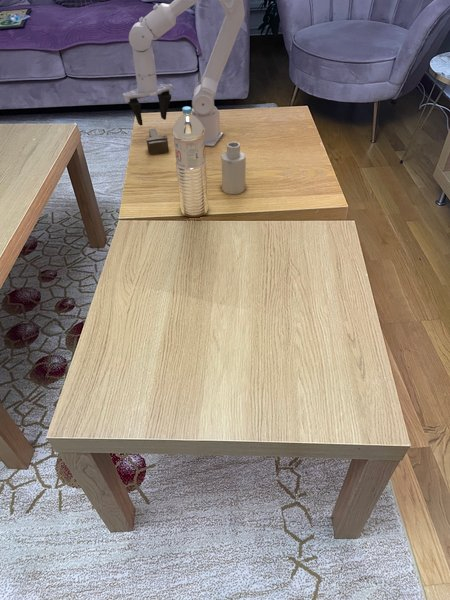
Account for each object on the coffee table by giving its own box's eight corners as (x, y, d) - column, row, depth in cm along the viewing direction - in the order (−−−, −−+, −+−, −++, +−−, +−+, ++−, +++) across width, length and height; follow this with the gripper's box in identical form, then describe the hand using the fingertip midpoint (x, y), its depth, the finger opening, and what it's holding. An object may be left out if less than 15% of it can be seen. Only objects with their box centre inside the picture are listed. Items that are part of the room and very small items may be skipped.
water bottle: (204, 220, 108) (198, 115, 90) (177, 217, 109) (166, 113, 91) (211, 204, 112) (206, 102, 95) (184, 202, 113) (175, 100, 96)
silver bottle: (226, 181, 121) (225, 137, 112) (247, 184, 119) (248, 140, 111) (219, 192, 117) (217, 148, 108) (241, 195, 115) (241, 151, 107)
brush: (162, 135, 142) (161, 123, 139) (169, 153, 133) (168, 140, 130) (143, 138, 140) (141, 125, 138) (149, 155, 132) (147, 142, 129)
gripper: (126, 82, 120) (134, 131, 130) (175, 72, 125) (179, 120, 135) (117, 74, 124) (125, 123, 134) (164, 65, 130) (169, 112, 139)
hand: (152, 121), depth 135 cm, fingers open, 7 cm apart
